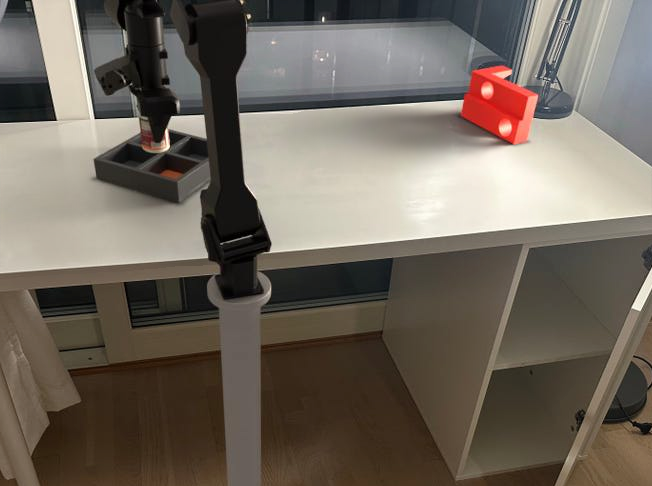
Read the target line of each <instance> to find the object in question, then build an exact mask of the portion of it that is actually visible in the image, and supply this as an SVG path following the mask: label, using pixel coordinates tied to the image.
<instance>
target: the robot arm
mask: <svg viewBox="0 0 652 486" xmlns="http://www.w3.org/2000/svg"><path fill="white" fill-rule="evenodd" d="M103 10H104V12H105V15H106V17H108V19H109V20H111V21H112V22H113V23H114V24H116V25H117V26H118V27H119V28H120V29H122V30H123V31H125V32H126V40H127V41H126V42H127V44H125V45H126V46H125V47H124V54H125V55H122V56H120V57H116V58H114V59H111V60H110V61H108V62H104V63H103V64H101V65H99V66H97V67H95V68H94V69H93V73H94V75H95V78H96V80H97V82H98V84H99V86H100V88H101V90H102V92H103V93H104V95H105V96H106V97H109V96H112V95H114V94H115V93H116V92H118V91H120V90H122V89H125V88H127V87H128V90H129V92H130V93H131V94H132V95H133V96H135V98H136V104H135V105H136V108H137V111H138V113H139V112H140V115H141V116H143V117H147V118H148V122H149V125H150V129H151V132H152V135H153V139H154V142H155V143H161V142H162V139H163V137H164V134H165V131H166V129H167V126H168V127H169V123H170V121H171V118H172V117H173V116H174V115H179V114H181V106H180V105H181V103H180V100H179V98H178V95H177V94H176V93H175V91H173V89H171V88H170V87H167V88H166V86H171V80H170V77H169V74H168V70H167V59H169V56H168V51H167V48H166V46H165V45H166V44H165V33H164V21H163V17H165V16H166V13H165V11H164V8H163V7H162V6H161V5H160V4H159V3H158V0H104V2H103ZM246 12H247V11H246V10H245V8H244V6H243V4H242V1H241V0H211V1H204V2H203V1H202V2H194V3H187V4H186V5H185V6H184V4H183V2H182V0H172V3H171V8H170V14H169V16H170V19H171V22H172V23H173V26H174V28H175V30H176V32H177V34H178V36H179V39H180V41H181V42H182V44H183V50H184V55H185V57H186V58H187V60H188V61H189V63H190V64H191V65H192V67H193V68H194V69H195V71H196V73H197V74H198V75H199V82H200V89H201V100H202V108H203V117H204V118H203V119H204V128H205V139H207V148H208V158H209V167H210V177H211V180H210V181H209V185H208V187H207V188H204V189H201V190H200V194H199V200H200V207H201V214H200V215H201V217H200V222H199V223H200V230H201V233H202V238H203V244H204V248H205V250H206V253H207V259H208V261H209V262H213V263H216V264H217V265H218V266H219V272H220V274H217V273H216V274H217V275H215V274H214V275H215V281H216V283H217V285H218V288H219V290H220V293H221V295H222V297H223V299H224V300H228V299H234V298H241V297H247V296H253V295H260V294H263V293H264V289H263V287H262V285H261V283H260V281H259V279H258V277H257V271H258V256H259V255H261V254H265V253H267V254H268V253H270V252H271V250H272V245H273V243H272V240H271V237H270V234H269V231H268V229H267V226H266V223H265V220H264V218H263V215H262V212H261V210H260V208H259V203H258V198H257V196H256V195H255V194H254V193H253V192H252V190H251V189H250V187H249V186H248V184H247V183H246V180H245V179H246V178H245V168H244V156H243V142H242V129H241V128H242V127H241V117H240V104H239V91H238V74H239V72H240V70H241V67H242V66H243V64H244V61H245V59H246V57H247V55H248V34H249V30H250V28H249V27H250V26H249V25H250V24H249V23H250V22H249V18H248V15H247V13H246Z"/></svg>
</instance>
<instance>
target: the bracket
mask: <svg viewBox="0 0 652 486" xmlns="http://www.w3.org/2000/svg"><path fill="white" fill-rule="evenodd" d="M512 71H513V69H511V68H509V67H506V66H504V65H499V66H498V65H497V66H493V67H492V66H491V67H486V68H481V69H475V70H472V71H471V77H470V81H469V87H468V92H467V93H465V94H464V95H463V96H464V97H463V102H462V106H461V111H460V116H461V117H462V118H464V119H466V120H468V121H469V122H472V123H473V124H475V125H478V126H479V127H481V128H482V129H484V130H486V131H488V132H490V133H492V134H493V135H496V136H497V137H499V138H501V139H503V140H505V141H507V142H508V143H511V144H512V145H517V144H520V143H526V142H527V141H528V138H529V133H530V130H531V126H532V122H533V118H534V114H535V109H536V106H537V101H538V98H539V94H537V93H535V92H533V91H530V90H529V89H527V88H524V87H522V86H520V85H518V84H515V83H513V82H511V81H508V79H507V80H506V79H505V78H506V77H508V76H510V75H512Z"/></svg>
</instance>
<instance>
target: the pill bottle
mask: <svg viewBox="0 0 652 486" xmlns="http://www.w3.org/2000/svg"><path fill="white" fill-rule="evenodd" d="M138 122H139V130H140V132H141V140H142V148H143V149H144V150H145V151H147V152H151V153H160V152H164V151H166V150H168V149H169V147H170V143H169V132H168V129H169V125H168V126H167V129H166V131H165V134H164V137H163V139H162V142H161V143H155V142H154V139H153V135H152V132H151V129H150V125H149V122H148V118H147V117H143V116H141V115H140V112H139V111H138Z"/></svg>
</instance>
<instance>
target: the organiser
mask: <svg viewBox="0 0 652 486" xmlns="http://www.w3.org/2000/svg"><path fill="white" fill-rule="evenodd" d="M168 132H169V143H170V147H169V149H168V150H166V151H164V152H160V153H151V152H147V151H145V150H144V149H143V148H142V140H141V131H140V132H139V133H136V134H135V135H133V136H131V137H130V138H128V139H126V140H124V141H122V142H120V143H119V144H117V145H116V146H114V147H112V148H110V149H108V150H107V151H104V152H103V153H100V155H97V156H96V157H94V158H93V159H92V160H93V165H94V170H95V177H96V179H97V180H99V181H103V182H106V183H110V184H113V185H116V186H120V187H122V188H126V189H129V190H133V191H136V192H140V193H144V194H147V195H150V196H153V197H157V198H161V199H164V200H167V201H171V202H174V203H178V204H180V203H181V202H182V201H184V200H185V199H187V198H188V197H190V196H191V195H192V194H194V193H195V192H197V191H198V190H199V189H201V188H202V187H203V186H205V185H207V183H210V182H211V177H210V167H209V158H208V148H207V139H206V137H201V136H197V135H193V134H190V133H185V132H182V131H178V130H174V129H171V128H168Z"/></svg>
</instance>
